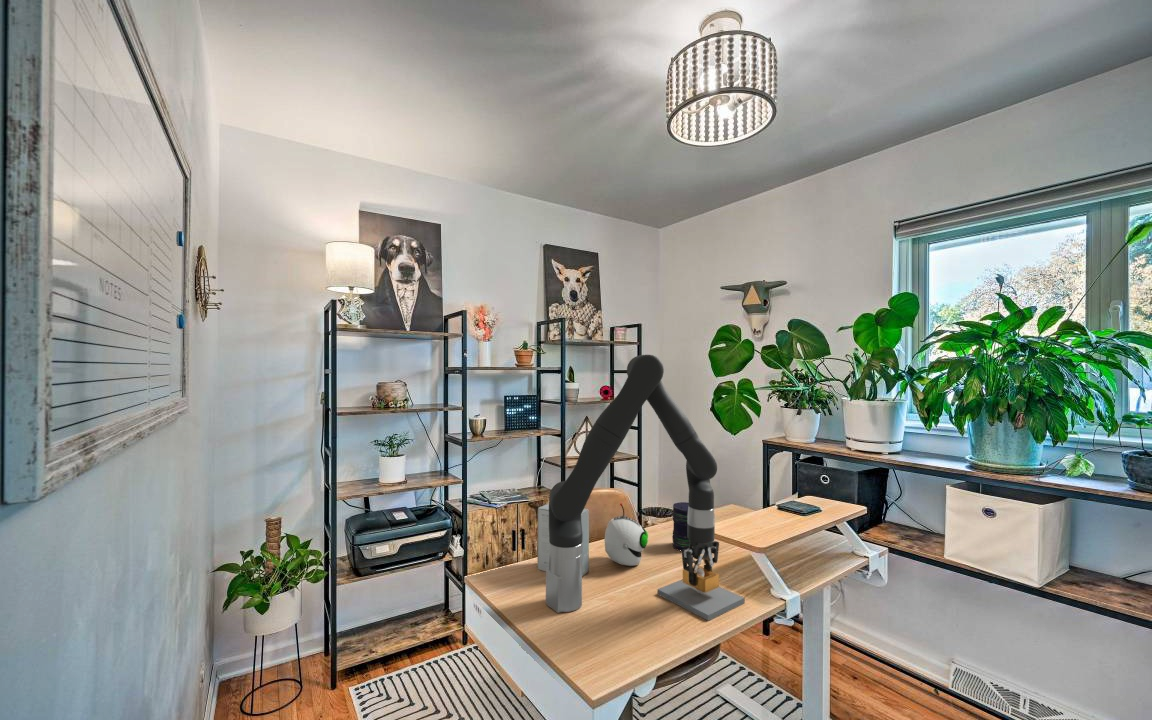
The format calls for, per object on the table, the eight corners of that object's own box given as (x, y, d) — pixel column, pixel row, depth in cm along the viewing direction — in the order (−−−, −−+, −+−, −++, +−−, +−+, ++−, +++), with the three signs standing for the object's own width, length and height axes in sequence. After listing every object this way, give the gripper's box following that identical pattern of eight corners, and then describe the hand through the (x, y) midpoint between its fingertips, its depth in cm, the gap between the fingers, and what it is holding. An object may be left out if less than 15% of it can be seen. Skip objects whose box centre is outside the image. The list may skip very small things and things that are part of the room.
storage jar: (683, 540, 184) (684, 500, 184) (705, 548, 177) (706, 506, 177) (666, 546, 178) (667, 505, 178) (688, 554, 170) (688, 512, 170)
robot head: (646, 576, 153) (647, 512, 153) (601, 572, 155) (601, 509, 155) (648, 556, 169) (648, 498, 169) (606, 552, 171) (607, 495, 171)
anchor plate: (708, 621, 127) (708, 588, 127) (657, 594, 141) (657, 564, 141) (744, 603, 136) (744, 572, 136) (693, 579, 151) (693, 552, 151)
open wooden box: (705, 593, 134) (705, 579, 134) (682, 582, 140) (682, 569, 140) (718, 587, 137) (718, 574, 137) (696, 576, 144) (696, 564, 144)
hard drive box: (589, 571, 156) (590, 509, 156) (577, 581, 149) (578, 515, 149) (549, 561, 164) (549, 501, 164) (536, 569, 157) (536, 507, 157)
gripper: (695, 531, 131) (694, 594, 131) (727, 521, 140) (727, 580, 140) (673, 524, 137) (673, 583, 137) (706, 514, 146) (705, 570, 146)
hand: (700, 581), depth 139 cm, fingers closed on open wooden box, 5 cm apart
